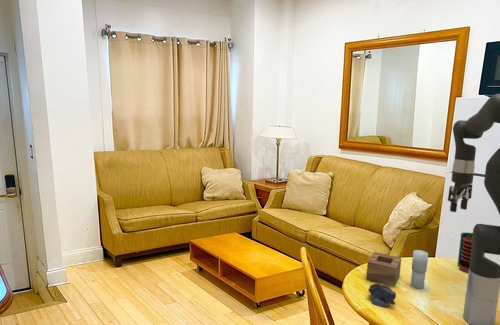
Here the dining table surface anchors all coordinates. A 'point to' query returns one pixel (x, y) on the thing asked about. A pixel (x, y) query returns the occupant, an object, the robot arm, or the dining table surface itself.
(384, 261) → the housing
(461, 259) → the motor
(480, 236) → the robot arm
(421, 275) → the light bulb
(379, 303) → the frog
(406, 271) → the dining table surface
